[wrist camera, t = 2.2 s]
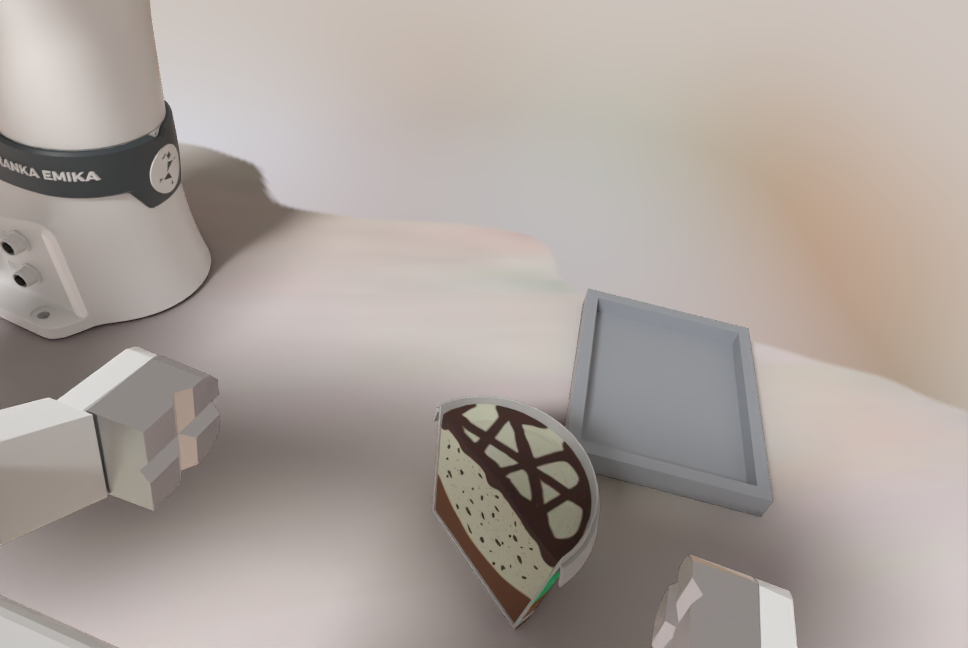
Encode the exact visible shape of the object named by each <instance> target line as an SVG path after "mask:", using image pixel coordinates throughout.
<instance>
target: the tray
mask: <svg viewBox="0 0 968 648" xmlns="http://www.w3.org/2000/svg"><path fill="white" fill-rule="evenodd" d="M565 428H566V429H567V430H568V431H569V432H571V433H572V434H573V435H574V437H575V438H576V439H577V440H578V442H579V443H580V444H581V445H582V447H583V448H584V450H585V452H586V454H587V455H588V457H589V459H590V461H591V464H592V466H593V469H594V471H595V473H596V474H600V475H604V476H608V477H612V478H615V479H619V480H623V481H627V482H631V483H634V484H638V485H642V486H646V487H650V488H653V489H657V490H661V491H665V492H669V493H673V494H676V495H680V496H684V497H688V498H692V499H695V500H699V501H703V502H707V503H711V504H715V505H718V506H722V507H726V508H730V509H734V510H737V511H741V512H745V513H749V514H753V515H756V516H760V517H761V516H762V514H763V513H764V512H765V511H766V509H767V508H768V507H769V505H770V504H771V503H772V501H773V500H772V493H771V486H770V478H769V471H768V464H767V457H766V450H765V442H764V435H763V428H762V421H761V414H760V407H759V399H758V392H757V385H756V378H755V371H754V364H753V356H752V349H751V342H750V335H749V329H748V328H745V327H740V326H737V325H733V324H728V323H725V322H721V321H717V320H712V319H708V318H704V317H700V316H696V315H692V314H688V313H684V312H680V311H676V310H672V309H668V308H664V307H660V306H656V305H652V304H648V303H644V302H640V301H636V300H632V299H628V298H624V297H620V296H616V295H612V294H608V293H604V292H600V291H596V290H592V289H588V291H587V294H586V297H585V300H584V303H583V308H582V314H581V321H580V328H579V335H578V342H577V348H576V355H575V362H574V369H573V376H572V382H571V389H570V396H569V403H568V409H567V416H566V423H565Z"/></svg>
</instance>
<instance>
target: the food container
mask: <svg viewBox="0 0 968 648" xmlns="http://www.w3.org/2000/svg"><path fill="white" fill-rule="evenodd" d="M432 420H433V422H434V421H436V420H438V434H437V447H436V461H435V475H434V488H433V502H432V511H433V513H434V514H435V516H436V517H437V519H438V520H439V522H440V523H441V525H442V526H443V527H444V529H445V530H446V532H447V533H448V535H449V536H450V538H451V539H452V540H453V542H454V543H455V545H456V546H457V548H458V549H459V551H460V552H461V554H462V555H463V556H464V558H465V559H466V561H467V562H468V564H469V565H470V567H471V568H472V569H473V571H474V572H475V574H476V575H477V577H478V578H479V580H480V581H481V583H482V584H483V585H484V587H485V588H486V590H487V591H488V593H489V594H490V596H491V597H492V598H493V600H494V601H495V603H496V604H497V606H498V607H499V609H500V610H501V612H502V613H503V614H504V616H505V617H506V619H507V620H508V622H509V623H510V625H511V626H512V627H513V629H514V630H515V629H516V628H518V627H519V626H520V625H521V624H523V623H524V622H525V621H526V620H527V619H529V617H530V616H531V614H532V613H533V612H534V610H535V609H536V608H537V606H538V605H539V603H540V602H541V601H542V599H543V598H544V597H545V595H546V594H547V592H548V591H549V590H550V588H551V587H552V586H553V584H554V583H555V581H556V580H557V579H558V577H559V576H560V577H559V584H558V586H559V587H562V586H563V585H564V584H565V583H567V582H568V581H569V580H570V579H572V578H573V577H574V576H575V574H576V573H577V572H578V571H579V570H580V569H581V567H582V566H583V565H584V563H585V562H586V560H587V558H588V556H589V555H590V553H591V551H592V548H593V545H594V542H595V539H596V536H597V529H598V522H599V514H600V492H599V487H598V483H597V478H596V475H595V471H594V469H593V466H592V464H591V461H590V459H589V457H588V455H587V454H586V452H585V450H584V448H583V447H582V445H581V444H580V443H579V442H578V440H577V439H576V438H575V437H574V435H573V434H572V433H571V432H569V431H568V430H567V429H566V428H565V427H564V426H563V425H562V424H561V423H559V422H558V421H557V420H555V419H554V418H553V417H551V416H550V415H548V414H546V413H544V412H543V411H541V410H539V409H537V408H535V407H532V406H530V405H528V404H525V403H522V402H519V401H516V400H512V399H508V398H502V397H496V396H468V397H462V398H457V399H452V400H449V401H446V402H443V403H441V404H440V407H437V409H436V411H435V414H434V416H433V419H432Z"/></svg>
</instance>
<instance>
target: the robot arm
mask: <svg viewBox="0 0 968 648" xmlns="http://www.w3.org/2000/svg"><path fill="white" fill-rule="evenodd" d="M210 266H211V255H210V251H209V249H208V247H207V245H206V243H205V242H204V240H203V238H202V236H201V234H200V232H199V230H198V228H197V226H196V223H195V221H194V218H193V216H192V213H191V211H190V208H189V205H188V202H187V199H186V196H185V193H184V190H183V187H182V183H181V166H180V153H179V146H178V141H177V135H176V130H175V125H174V120H173V116H172V111H171V108H170V106H169V105H168V103H167V102H166V101H165V100H164V96H163V90H162V84H161V77H160V71H159V65H158V59H157V52H156V46H155V39H154V32H153V26H152V19H151V9H150V0H0V317H1V318H4V319H6V320H8V321H10V322H12V323H14V324H16V325H19V326H21V327H23V328H25V329H27V330H29V331H32V332H34V333H36V334H38V335H40V336H42V337H45V338H49V339H58V338H63V337H67V336H70V335H73V334H76V333H78V332H81V331H84V330H86V329H89V328H91V327H93V326H97V325H101V324H107V323H114V322H121V321H128V320H133V319H138V318H142V317H146V316H149V315H152V314H155V313H158V312H161V311H163V310H165V309H168V308H170V307H172V306H174V305H176V304H178V303H179V302H181V301H183V300H184V299H186V298H187V297H188V296H190V295H191V294H192V293H193V292H195V291H196V290H197V289H198V288H199V287H200V285H201V284H202V283H203V282H204V280H205V279H206V277H207V275H208V273H209V270H210ZM218 395H219V389H218V379H216V378H214V377H212V376H211V375H208V374H206V373H203V372H201V371H198V370H196V369H193V368H191V367H188V366H186V365H183V364H181V363H179V362H176V361H174V360H171V359H169V358H166V357H164V356H160V355H158V354H155V353H153V352H150V351H148V350H145V349H143V348H140V347H138V346H135V347H131V348H127V349H125V350H124V351H122V352H121V353H120V354H118V355H117V356H116V357H114V358H113V359H112V360H110V361H109V362H108V363H106V364H105V365H103V366H102V367H101V368H99V369H98V370H97V371H95V372H94V373H93V374H91V375H90V376H89V377H87V378H86V379H85V380H83V381H82V382H80V383H79V384H78V385H76V386H75V387H74V388H72V389H71V390H70V391H68V392H67V393H66V394H64V395H63V396H62V397H60V398H59V399H58V400H55V399H52V398H50V397H48V398H44V399H40V400H36V401H32V402H28V403H24V404H20V405H16V406H13V407H9V408H5V409H1V410H0V546H1V545H3V544H5V543H8V542H10V541H12V540H14V539H16V538H19V537H21V536H23V535H25V534H27V533H30V532H32V531H34V530H36V529H38V528H41V527H43V526H45V525H47V524H49V523H52V522H54V521H56V520H58V519H60V518H63V517H65V516H67V515H69V514H71V513H74V512H76V511H78V510H80V509H82V508H85V507H87V506H89V505H91V504H93V503H96V502H98V501H100V500H102V499H104V498H106V497H108V494H110V495H112V496H115V497H118V498H120V499H123V500H126V501H128V502H131V503H134V504H136V505H139V506H141V507H144V508H147V509H149V510H152V511H155V509H156V508H157V507H158V506H159V505H160V504H161V503H162V502H163V501H164V500H165V499H166V498H167V497H168V496H169V495H170V494H171V493H172V492H173V491H174V489H175V488H176V487H177V486H178V485H179V484H180V483H181V470H184V469H187V468H189V467H192V466H195V465H198V464H199V463H200V462H201V461H202V460H203V458H204V457H205V456H206V455H207V454H208V453H209V451H210V449H211V448H212V446H213V444H214V442H215V440H216V438H217V436H218V432H219V427H220V413H219V412H218V410H217V409H216V407H215V406H214V404H213V402H212V401H213V400H214V399H215V398H216V397H217V396H218ZM652 646H653V648H798V646H797V636H796V625H795V615H794V604H793V597H792V595H791V593H790V591H789V590H786V589H783V588H781V587H778V586H775V585H772V584H770V583H767V582H764V581H762V580H759V579H756V578H755V579H754V578H753V577H752V576H749V575H746V574H743V573H740V572H738V571H735V570H732V569H729V568H727V567H724V566H721V565H718V564H716V563H713V562H710V561H707V560H705V559H702V558H699V557H696V556H694V555H691V554H690V555H689V556H687V557H686V558H685V559H684V561H683V563H682V564H681V566H680V568H679V574H678V583H675V584H672V585H669V586H668V588H667V590H666V592H665V594H664V596H663V598H662V600H661V603H660V605H659V608H658V611H657V614H656V618H655V623H654V628H653V636H652ZM0 648H118V647H116V646H114V645H111V644H109V643H107V642H105V641H102V640H100V639H98V638H96V637H93V636H91V635H89V634H87V633H84V632H82V631H80V630H78V629H75V628H73V627H71V626H69V625H67V624H64V623H62V622H60V621H58V620H55V619H53V618H51V617H49V616H46V615H44V614H42V613H40V612H37V611H35V610H33V609H31V608H28V607H26V606H24V605H22V604H19V603H17V602H15V601H13V600H11V599H8V598H6V597H4V596H2V595H0Z"/></svg>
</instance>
